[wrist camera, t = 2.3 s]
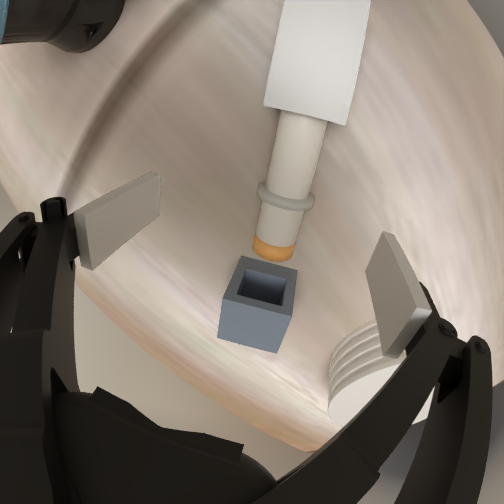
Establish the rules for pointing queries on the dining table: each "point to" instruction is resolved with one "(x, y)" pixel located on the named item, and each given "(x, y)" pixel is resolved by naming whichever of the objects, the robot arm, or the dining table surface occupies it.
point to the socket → (257, 305)
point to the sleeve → (317, 57)
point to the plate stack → (360, 374)
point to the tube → (288, 184)
